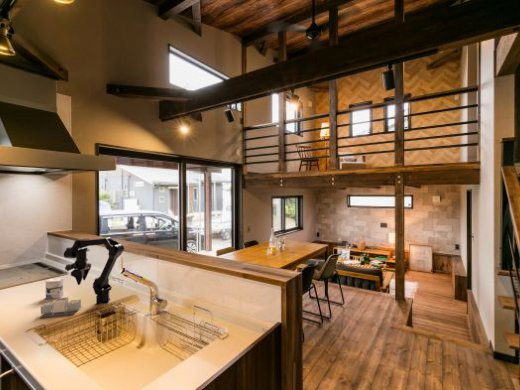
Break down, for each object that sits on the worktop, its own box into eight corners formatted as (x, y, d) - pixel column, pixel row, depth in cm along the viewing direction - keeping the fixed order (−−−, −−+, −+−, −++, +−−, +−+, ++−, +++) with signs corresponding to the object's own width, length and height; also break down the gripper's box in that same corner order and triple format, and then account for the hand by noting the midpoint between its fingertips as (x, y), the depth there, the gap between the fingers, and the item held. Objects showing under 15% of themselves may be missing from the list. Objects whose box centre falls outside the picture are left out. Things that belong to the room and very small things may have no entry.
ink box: (45, 299, 179) (45, 281, 179) (48, 296, 184) (48, 279, 183) (60, 297, 181) (60, 280, 181) (63, 295, 186) (63, 278, 186)
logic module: (68, 307, 163) (68, 296, 163) (64, 311, 157) (64, 300, 157) (58, 308, 162) (58, 297, 161) (54, 312, 156) (53, 301, 156)
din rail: (82, 306, 168) (82, 297, 167) (75, 314, 156) (74, 304, 156) (48, 309, 163) (48, 300, 163) (38, 319, 151) (37, 308, 151)
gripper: (72, 255, 183) (73, 279, 183) (60, 263, 165) (61, 288, 165) (91, 254, 186) (91, 277, 186) (81, 261, 168) (81, 286, 168)
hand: (81, 282), depth 176 cm, fingers open, 9 cm apart
